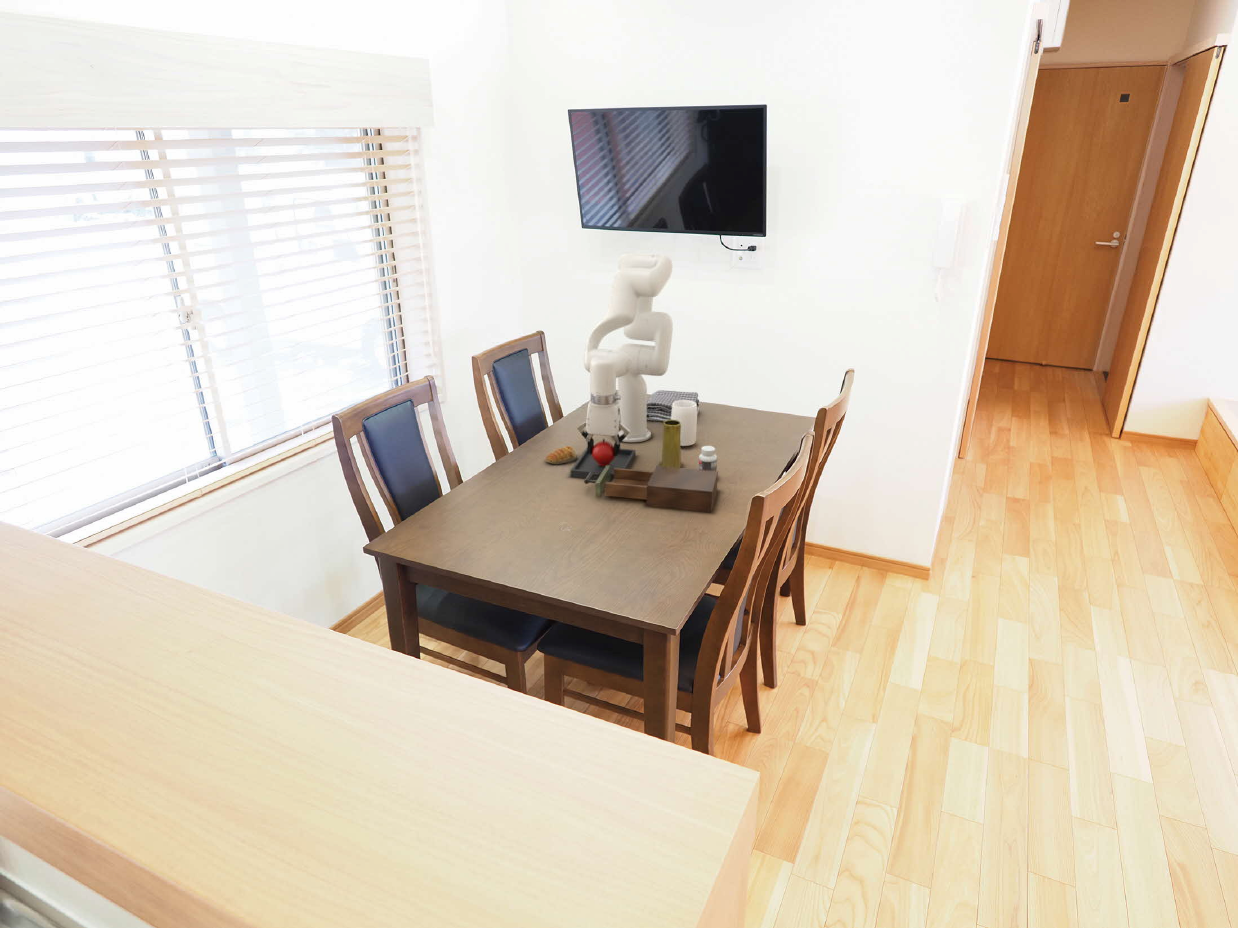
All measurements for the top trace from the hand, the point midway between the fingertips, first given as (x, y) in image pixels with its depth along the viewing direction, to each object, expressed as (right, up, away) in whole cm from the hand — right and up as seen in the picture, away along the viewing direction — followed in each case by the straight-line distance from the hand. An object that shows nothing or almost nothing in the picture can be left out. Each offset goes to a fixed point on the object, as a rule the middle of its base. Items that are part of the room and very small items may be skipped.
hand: (603, 453), depth 240 cm
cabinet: (+22, -13, -19) cm, 32 cm away
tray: (0, -4, +2) cm, 5 cm away
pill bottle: (+31, -8, -7) cm, 32 cm away
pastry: (-13, -2, +7) cm, 15 cm away
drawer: (+6, -11, -16) cm, 20 cm away
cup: (+26, +3, +18) cm, 32 cm away
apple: (0, -3, +1) cm, 3 cm away
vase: (+21, -4, +2) cm, 21 cm away
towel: (+24, +14, +43) cm, 51 cm away
